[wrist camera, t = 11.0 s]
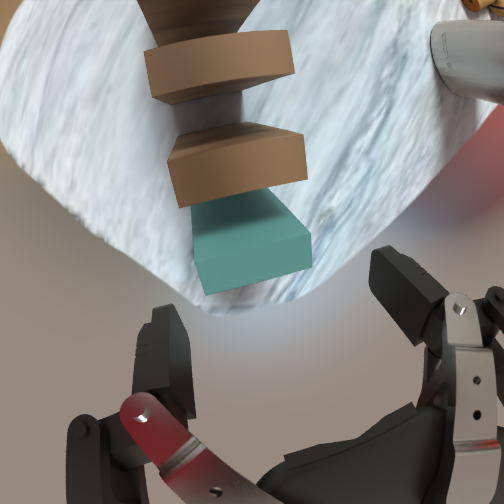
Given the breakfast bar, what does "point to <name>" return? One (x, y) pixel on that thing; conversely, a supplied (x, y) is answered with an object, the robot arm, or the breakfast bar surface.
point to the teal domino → (247, 240)
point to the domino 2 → (217, 64)
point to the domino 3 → (234, 161)
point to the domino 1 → (194, 18)
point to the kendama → (500, 3)
